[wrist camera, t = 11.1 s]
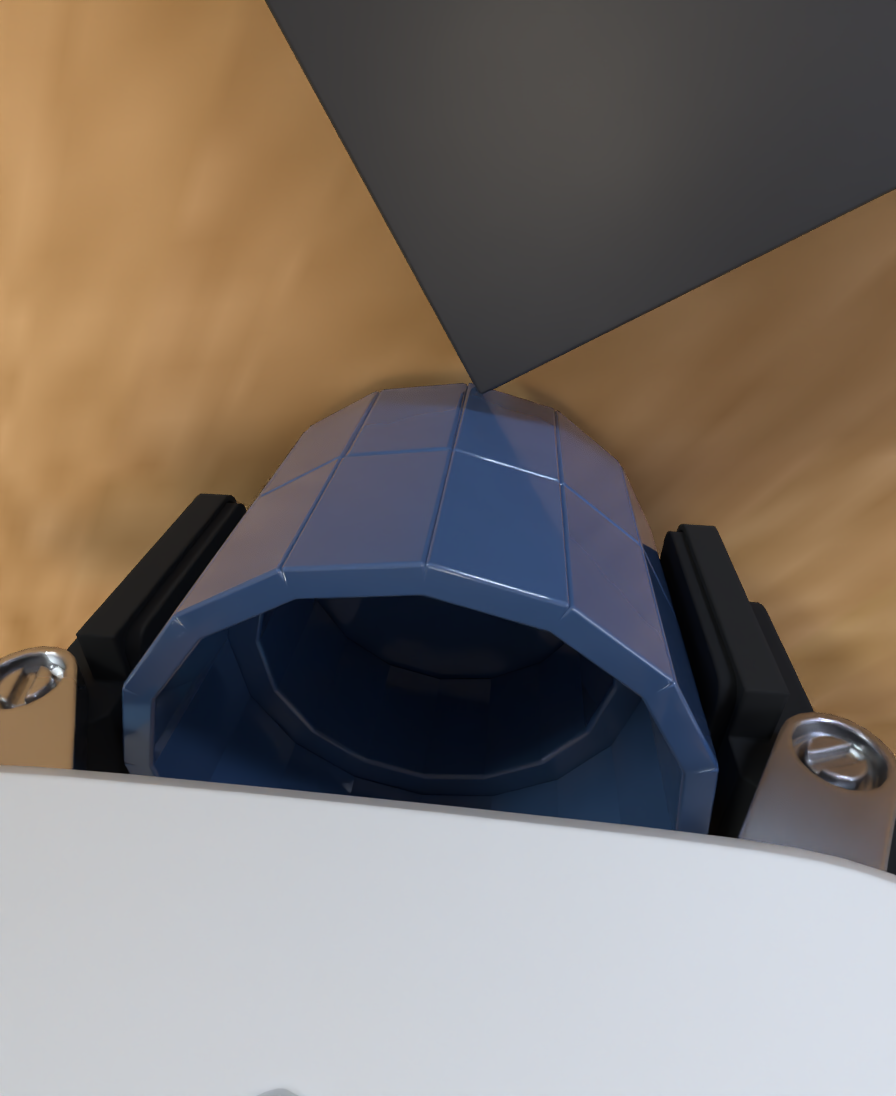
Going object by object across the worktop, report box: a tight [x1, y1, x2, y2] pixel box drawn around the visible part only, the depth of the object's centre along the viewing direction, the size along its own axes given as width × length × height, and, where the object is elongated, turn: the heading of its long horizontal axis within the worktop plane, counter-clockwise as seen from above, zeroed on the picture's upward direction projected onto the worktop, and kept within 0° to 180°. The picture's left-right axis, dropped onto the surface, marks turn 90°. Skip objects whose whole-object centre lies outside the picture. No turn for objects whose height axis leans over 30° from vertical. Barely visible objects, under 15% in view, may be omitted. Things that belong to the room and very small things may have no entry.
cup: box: [122, 383, 719, 835], centre depth 10 cm, size 7×7×6 cm
